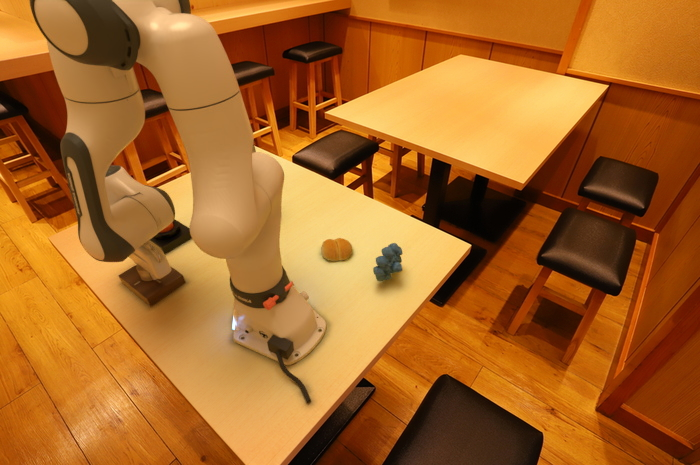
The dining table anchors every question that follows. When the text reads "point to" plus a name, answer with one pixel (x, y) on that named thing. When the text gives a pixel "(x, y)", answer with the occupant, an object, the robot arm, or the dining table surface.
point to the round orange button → (167, 228)
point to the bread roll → (336, 249)
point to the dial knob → (143, 273)
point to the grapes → (388, 262)
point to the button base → (172, 237)
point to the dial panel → (151, 285)
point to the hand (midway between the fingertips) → (149, 272)
